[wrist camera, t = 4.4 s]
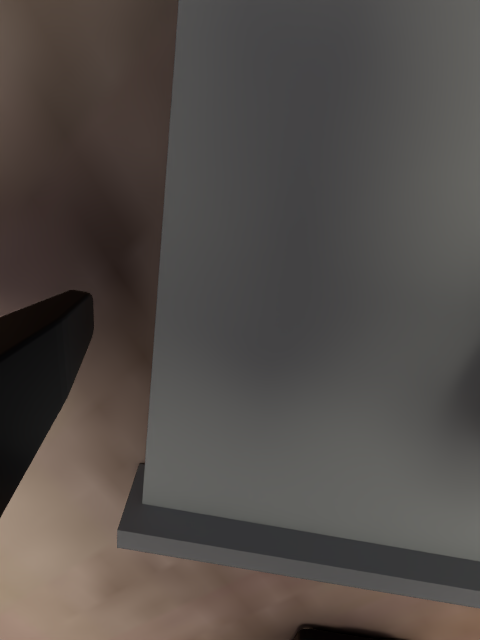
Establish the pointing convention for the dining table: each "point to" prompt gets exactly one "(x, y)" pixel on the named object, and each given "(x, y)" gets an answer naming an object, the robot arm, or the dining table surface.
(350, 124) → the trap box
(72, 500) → the dining table surface
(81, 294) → the robot arm
